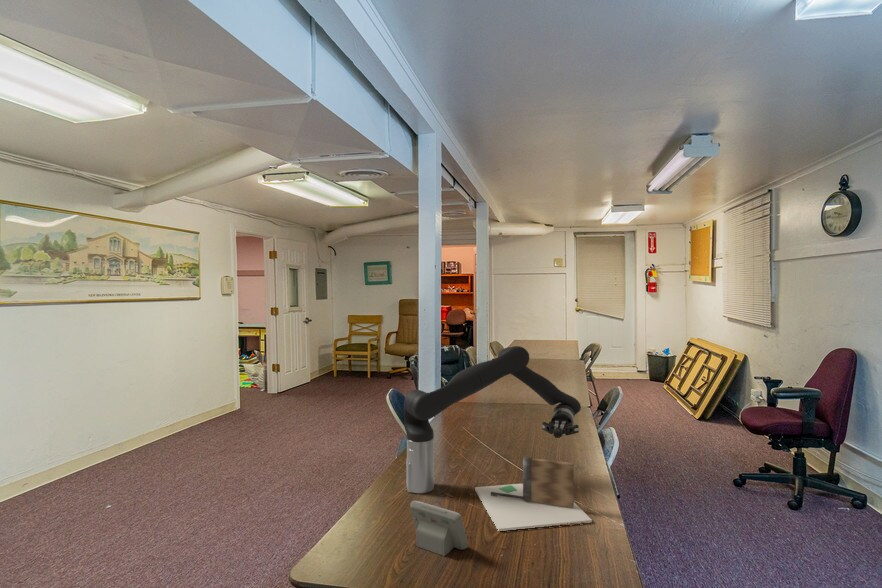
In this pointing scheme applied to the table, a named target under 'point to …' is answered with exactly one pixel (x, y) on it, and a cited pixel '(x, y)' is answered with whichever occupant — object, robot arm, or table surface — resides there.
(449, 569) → the table surface
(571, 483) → the wooden board with post
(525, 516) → the thin white panel
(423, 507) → the digital clock
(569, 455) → the table surface
